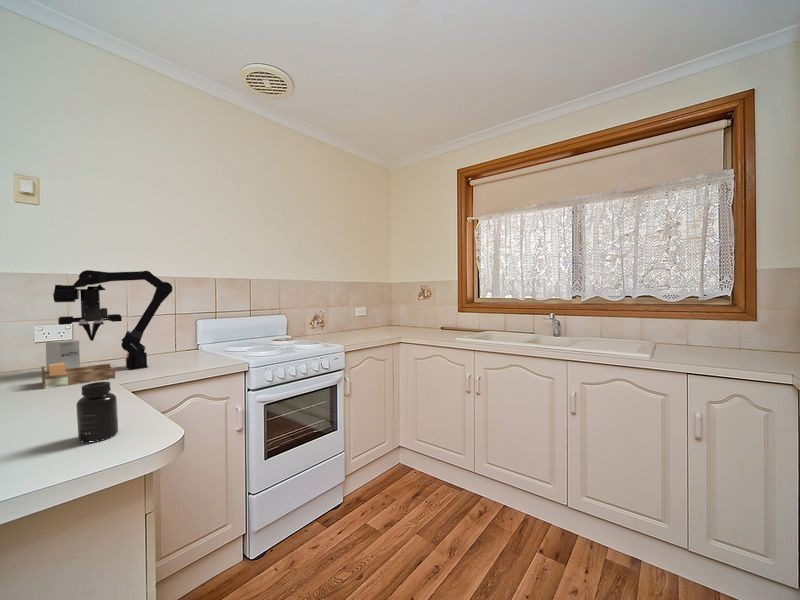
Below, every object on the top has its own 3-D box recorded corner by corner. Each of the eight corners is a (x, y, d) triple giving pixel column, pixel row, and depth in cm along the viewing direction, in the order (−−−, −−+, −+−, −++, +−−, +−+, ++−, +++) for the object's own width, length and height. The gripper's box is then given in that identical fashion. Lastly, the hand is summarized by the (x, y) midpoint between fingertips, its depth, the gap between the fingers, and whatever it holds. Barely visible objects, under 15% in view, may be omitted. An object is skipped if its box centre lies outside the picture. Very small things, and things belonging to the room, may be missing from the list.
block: (64, 373, 127) (64, 362, 127) (65, 375, 124) (65, 364, 124) (49, 375, 124) (48, 364, 124) (49, 377, 122) (49, 365, 121)
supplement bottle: (94, 431, 82) (92, 380, 81) (125, 430, 82) (123, 379, 82) (69, 444, 75) (66, 388, 74) (103, 443, 75) (101, 387, 75)
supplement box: (60, 374, 138) (59, 342, 138) (46, 373, 140) (44, 342, 140) (80, 370, 146) (79, 340, 145) (66, 369, 147) (65, 339, 147)
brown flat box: (110, 373, 139) (109, 358, 139) (115, 378, 132) (114, 362, 132) (42, 383, 125) (41, 366, 125) (43, 388, 118) (42, 371, 118)
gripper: (59, 303, 128) (60, 345, 128) (123, 301, 141) (124, 339, 142) (57, 302, 135) (58, 342, 136) (118, 301, 149) (119, 337, 150)
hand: (91, 340), depth 141 cm, fingers closed
